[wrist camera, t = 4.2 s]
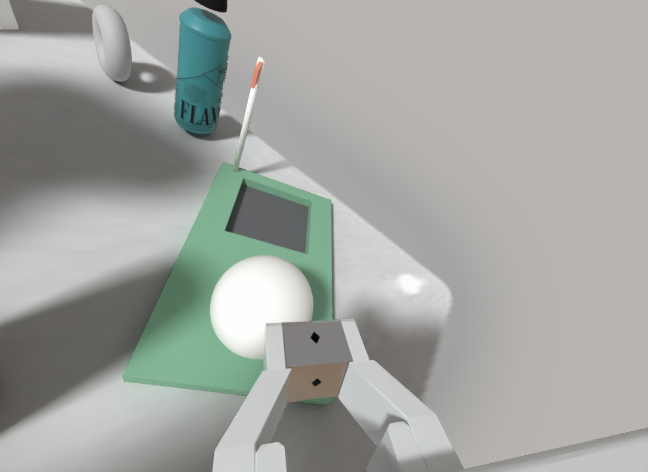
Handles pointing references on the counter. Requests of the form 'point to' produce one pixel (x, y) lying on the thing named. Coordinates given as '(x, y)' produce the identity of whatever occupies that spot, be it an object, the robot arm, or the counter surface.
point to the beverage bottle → (201, 67)
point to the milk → (7, 16)
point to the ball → (258, 302)
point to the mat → (216, 258)
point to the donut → (112, 43)
